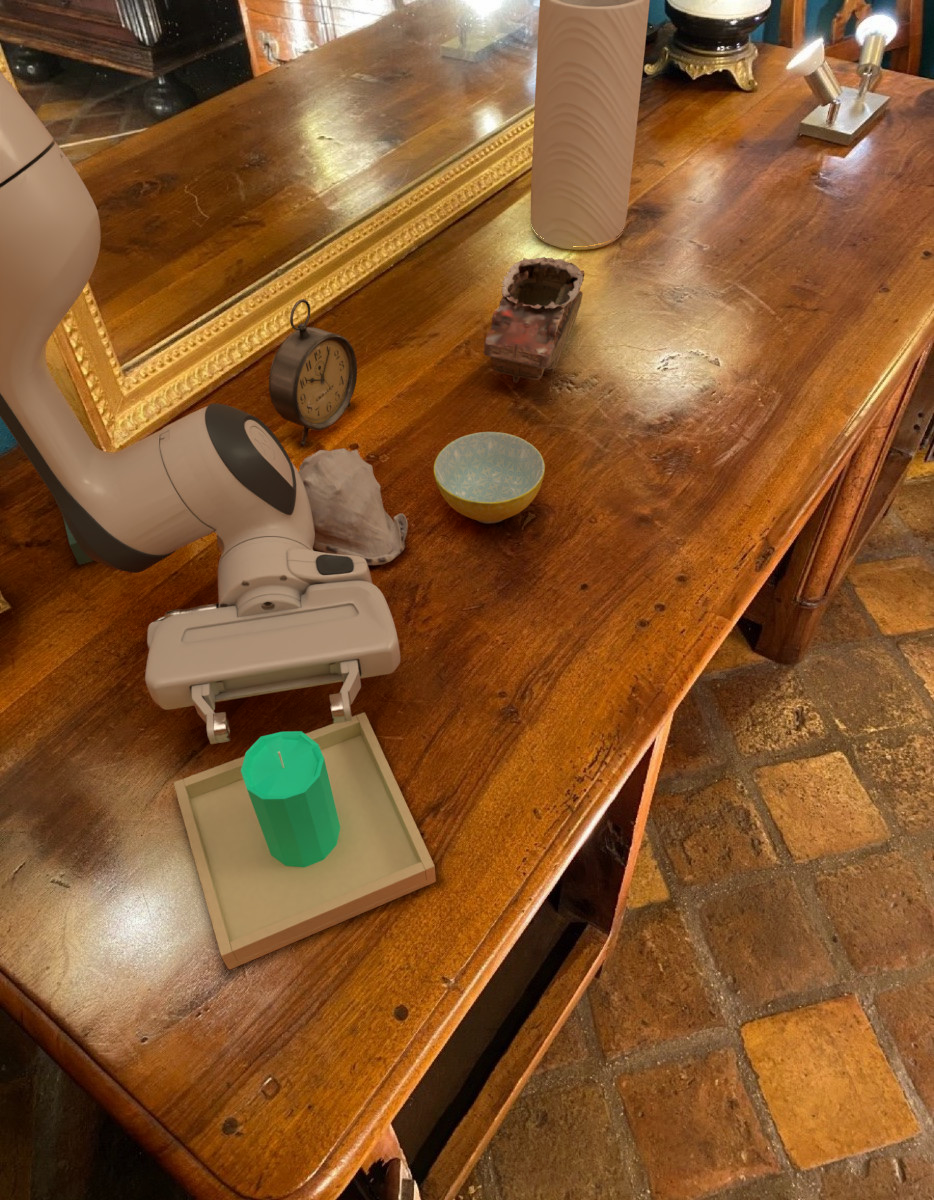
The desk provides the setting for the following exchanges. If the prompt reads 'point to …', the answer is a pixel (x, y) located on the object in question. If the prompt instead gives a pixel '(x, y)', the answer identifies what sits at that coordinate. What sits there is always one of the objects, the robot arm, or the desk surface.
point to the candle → (292, 797)
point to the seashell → (350, 508)
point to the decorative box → (534, 317)
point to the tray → (317, 892)
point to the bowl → (489, 475)
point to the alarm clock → (312, 377)
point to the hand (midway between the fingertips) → (280, 728)
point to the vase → (585, 118)
